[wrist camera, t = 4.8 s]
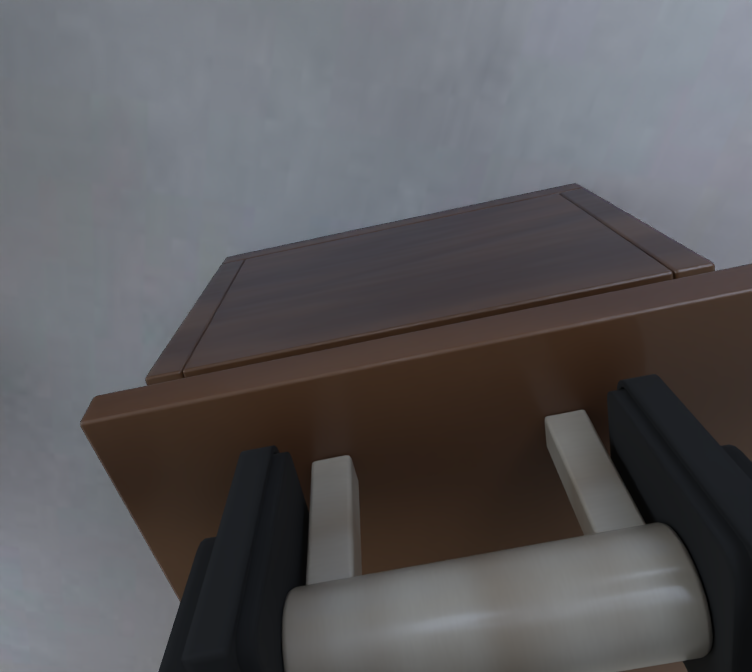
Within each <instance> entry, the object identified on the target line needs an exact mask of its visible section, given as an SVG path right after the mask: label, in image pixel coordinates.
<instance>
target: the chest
mask: <svg viewBox="0 0 752 672" xmlns="http://www.w3.org/2000/svg"><path fill="white" fill-rule="evenodd" d="M713 271H715V266H714V264H713V262H711V261H709V260H708V259H706V258H704V257H702V256H701V255H699V254H697V253H695V252H694V251H692V250H690V249H689V248H687V247H685V246H683V245H682V244H680V243H678V242H677V241H675V240H673V239H671V238H670V237H668V236H666V235H664V234H663V233H661V232H659V231H658V230H656V229H654V228H652V227H651V226H649V225H647V224H646V223H644V222H642V221H640V220H639V219H637V218H635V217H633V216H632V215H630V214H628V213H627V212H625V211H623V210H621V209H620V208H618V207H616V206H614V205H613V204H611V203H609V202H608V201H606V200H604V199H602V198H601V197H599V196H597V195H596V194H594V193H592V192H590V191H589V190H587V189H585V188H583V187H582V186H580V185H578V184H576V183H574V184H569V185H564V186H560V187H555V188H550V189H545V190H541V191H536V192H531V193H527V194H522V195H517V196H512V197H508V198H503V199H498V200H494V201H489V202H484V203H480V204H475V205H470V206H465V207H461V208H456V209H451V210H447V211H442V212H437V213H433V214H428V215H423V216H418V217H414V218H409V219H404V220H400V221H395V222H390V223H386V224H381V225H376V226H371V227H367V228H362V229H357V230H353V231H348V232H343V233H338V234H334V235H329V236H324V237H320V238H315V239H310V240H306V241H301V242H296V243H291V244H287V245H282V246H277V247H273V248H268V249H263V250H259V251H254V252H249V253H244V254H240V255H235V256H230V257H227V258H226V259H225V260H224V262H223V263H222V265H221V266H220V267H219V269H218V270H217V272H216V273H215V275H214V276H213V278H212V279H211V281H210V282H209V284H208V285H207V287H206V288H205V290H204V291H203V293H202V294H201V296H200V297H199V299H198V300H197V302H196V303H195V305H194V306H193V308H192V309H191V311H190V312H189V314H188V315H187V317H186V318H185V319H184V321H183V322H182V324H181V325H180V327H179V328H178V330H177V331H176V333H175V334H174V336H173V337H172V339H171V340H170V342H169V343H168V345H167V346H166V348H165V349H164V351H163V352H162V354H161V355H160V357H159V358H158V360H157V361H156V363H155V364H154V366H153V367H152V369H151V370H150V372H149V373H148V375H147V376H146V378H145V381H146V383H147V386H148V385H153V384H158V383H162V382H167V381H172V380H177V379H182V378H187V377H192V376H197V375H202V374H207V373H212V372H217V371H222V370H227V369H232V368H237V367H242V366H247V365H252V364H257V363H262V362H267V361H272V360H277V359H281V358H286V357H291V356H296V355H301V354H306V353H311V352H316V351H321V350H326V349H331V348H336V347H341V346H346V345H351V344H356V343H361V342H366V341H371V340H376V339H381V338H386V337H391V336H396V335H400V334H405V333H410V332H415V331H420V330H425V329H430V328H435V327H440V326H445V325H450V324H455V323H460V322H465V321H470V320H475V319H480V318H485V317H490V316H495V315H500V314H505V313H510V312H515V311H520V310H524V309H529V308H534V307H539V306H544V305H549V304H554V303H559V302H564V301H569V300H574V299H579V298H584V297H589V296H594V295H599V294H604V293H609V292H614V291H619V290H624V289H629V288H634V287H639V286H643V285H648V284H653V283H658V282H663V281H668V280H673V279H678V278H683V277H688V276H693V275H698V274H703V273H708V272H713Z"/></svg>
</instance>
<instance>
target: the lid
mask: <svg viewBox="0 0 752 672" xmlns="http://www.w3.org/2000/svg"><path fill="white" fill-rule="evenodd" d="M651 374H656V375H658V376H659V377H660V378H661V379H662V380H663V381H664V383H665V384H666V385H667V386H668V387H669V388H670V389H671V390H672V392H673V393H674V394H675V395H676V396H677V397H678V398H679V399H680V401H681V402H682V403H683V404H684V405H685V406H686V407H687V408H688V410H689V411H690V412H691V413H692V414H693V415H694V416H695V417H696V419H697V420H698V421H699V422H700V423H701V424H702V425H703V427H704V428H705V429H706V430H707V431H708V432H709V433H710V434H711V436H712V437H713V438H714V439H715V440H716V441H717V442H718V443H719V445H720V446H723V445H728V444H730V445H733V446H736V447H737V448H738V449H739V450H741V451H742V452H743V453H744V454H745V455H746V456H747V457H748V458H749V460H750V461H751V462H752V264H748V265H743V266H738V267H733V268H728V269H723V270H718V271H713V272H708V273H703V274H698V275H693V276H688V277H683V278H678V279H673V280H668V281H663V282H658V283H653V284H648V285H643V286H639V287H634V288H629V289H624V290H619V291H614V292H609V293H604V294H599V295H594V296H589V297H584V298H579V299H574V300H569V301H564V302H559V303H554V304H549V305H544V306H539V307H534V308H529V309H524V310H520V311H515V312H510V313H505V314H500V315H495V316H490V317H485V318H480V319H475V320H470V321H465V322H460V323H455V324H450V325H445V326H440V327H435V328H430V329H425V330H420V331H415V332H410V333H405V334H400V335H396V336H391V337H386V338H381V339H376V340H371V341H366V342H361V343H356V344H351V345H346V346H341V347H336V348H331V349H326V350H321V351H316V352H311V353H306V354H301V355H296V356H291V357H286V358H281V359H277V360H272V361H267V362H262V363H257V364H252V365H247V366H242V367H237V368H232V369H227V370H222V371H217V372H212V373H207V374H202V375H197V376H192V377H187V378H182V379H177V380H172V381H167V382H162V383H158V384H153V385H148V386H143V387H138V388H133V389H128V390H123V391H118V392H113V393H108V394H103V395H98V396H96V397H94V398H93V399H92V401H91V403H90V405H89V407H88V409H87V410H86V412H85V414H84V416H83V418H82V420H81V421H80V426H81V428H82V430H83V432H84V433H85V435H86V437H87V439H88V440H89V442H90V444H91V446H92V447H93V449H94V451H95V453H96V455H97V456H98V458H99V460H100V462H101V463H102V465H103V467H104V469H105V470H106V472H107V474H108V476H109V477H110V479H111V481H112V483H113V484H114V486H115V488H116V490H117V492H118V493H119V495H120V497H121V499H122V500H123V502H124V504H125V506H126V507H127V509H128V511H129V513H130V514H131V516H132V518H133V520H134V521H135V523H136V525H137V527H138V529H139V530H140V532H141V534H142V536H143V537H144V539H145V541H146V543H147V544H148V546H149V548H150V550H151V551H152V553H153V555H154V557H155V558H156V560H157V562H158V564H159V566H160V567H161V569H162V571H163V573H164V574H165V576H166V578H167V580H168V581H169V583H170V585H171V587H172V588H173V590H174V592H175V594H176V595H177V597H178V599H179V601H180V602H181V599H182V596H183V593H184V590H185V586H186V583H187V580H188V577H189V574H190V571H191V567H192V564H193V561H194V558H195V555H196V552H197V549H198V547H199V545H200V542H201V541H203V540H204V539H205V538H211V537H216V536H217V532H218V529H219V525H220V522H221V518H222V515H223V511H224V508H225V504H226V501H227V497H228V494H229V490H230V487H231V483H232V480H233V476H234V473H235V469H236V466H237V462H238V459H239V456H240V453H241V452H242V451H246V450H251V449H257V448H262V447H267V446H273V445H275V446H276V447H277V449H278V450H279V453H282V452H289V453H290V455H291V457H292V460H293V463H294V466H295V469H296V472H297V476H298V479H299V482H300V485H301V488H302V492H303V495H304V498H305V501H306V504H307V507H308V511H309V528H308V548H307V567H306V585H304V586H299V587H295V588H293V589H292V590H290V591H289V592H288V594H287V596H286V599H285V603H284V609H283V615H282V633H281V636H282V657H283V666H284V672H688V671H687V669H686V667H685V665H684V663H683V661H686V660H692V659H698V658H702V657H704V656H706V655H707V654H708V653H709V652H710V650H711V648H712V640H713V635H712V623H711V616H710V610H709V606H708V602H707V598H706V594H705V591H704V588H703V585H702V582H701V579H700V577H699V574H698V571H697V569H696V567H695V564H694V562H693V560H692V558H691V556H690V554H689V552H688V550H687V549H686V547H685V545H684V544H683V542H682V541H681V539H680V538H679V536H678V535H677V533H676V532H675V531H674V530H673V529H672V528H671V527H670V526H668V525H667V524H664V523H659V522H656V523H650V524H646V523H645V521H644V519H643V517H642V515H641V514H640V512H639V510H638V508H637V506H636V504H635V502H634V501H633V499H632V497H631V495H630V493H629V491H628V489H627V488H626V486H625V484H624V482H623V480H622V478H621V476H620V474H619V473H618V471H617V469H616V467H615V465H614V463H613V461H612V460H611V455H610V439H609V423H608V407H607V394H608V392H609V391H614V390H617V385H618V382H619V381H620V380H624V379H629V378H635V377H640V376H646V375H651Z"/></svg>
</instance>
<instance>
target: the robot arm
mask: <svg viewBox="0 0 752 672" xmlns="http://www.w3.org/2000/svg"><path fill="white" fill-rule="evenodd" d="M607 407H608V423H609V439H610V455H611V460H612V461H613V463H614V465H615V467H616V469H617V471H618V473H619V474H620V476H621V478H622V480H623V482H624V484H625V486H626V488H627V489H628V491H629V493H630V495H631V497H632V499H633V501H634V502H635V504H636V506H637V508H638V510H639V512H640V514H641V515H642V517H643V519H644V521H645V523H646V524H650V523H656V522H659V523H664V524H667V525H668V526H670V527H671V528H672V529H673V530H674V531H675V532H676V533H677V535H678V536H679V538H680V539H681V541H682V542H683V544H684V545H685V547H686V549H687V550H688V552H689V554H690V556H691V558H692V560H693V562H694V564H695V567H696V569H697V571H698V574H699V577H700V579H701V582H702V585H703V588H704V591H705V594H706V598H707V602H708V606H709V610H710V616H711V623H712V635H713V640H712V648H711V650H710V652H709V653H708V654H707V655H706V656H704V657H702V658H698V659H692V660H686V661H683V663H684V665H685V667H686V669H687V671H688V672H752V462H751V461H750V460H749V458H748V457H747V456H746V455H745V454H744V453H743V452H742V451H741V450H739V449H738V448H737V447H736V446H733V445H730V444H728V445H723V446H720V445H719V443H718V442H717V441H716V440H715V439H714V438H713V437H712V436H711V434H710V433H709V432H708V431H707V430H706V429H705V428H704V427H703V425H702V424H701V423H700V422H699V421H698V420H697V419H696V417H695V416H694V415H693V414H692V413H691V412H690V411H689V410H688V408H687V407H686V406H685V405H684V404H683V403H682V402H681V401H680V399H679V398H678V397H677V396H676V395H675V394H674V393H673V392H672V390H671V389H670V388H669V387H668V386H667V385H666V384H665V383H664V381H663V380H662V379H661V378H660V377H659V376H658V375H656V374H651V375H646V376H640V377H635V378H629V379H624V380H620V381H619V382H618V385H617V390H614V391H609V392H608V394H607ZM308 528H309V511H308V507H307V504H306V501H305V498H304V495H303V492H302V488H301V485H300V482H299V479H298V476H297V472H296V469H295V466H294V463H293V460H292V457H291V455H290V453H289V452H282V453H279V450H278V449H277V447H276V446H275V445H273V446H267V447H262V448H257V449H251V450H246V451H242V452H241V453H240V456H239V459H238V462H237V466H236V469H235V473H234V476H233V480H232V483H231V487H230V490H229V494H228V497H227V501H226V504H225V508H224V511H223V515H222V518H221V522H220V525H219V529H218V532H217V536H216V537H211V538H205V539H204V540H203V541H201V542H200V545H199V547H198V549H197V552H196V555H195V558H194V561H193V564H192V567H191V571H190V574H189V577H188V580H187V583H186V586H185V590H184V593H183V596H182V599H181V602H180V605H179V609H178V612H177V615H176V618H175V621H174V624H173V627H172V631H171V634H170V637H169V640H168V643H167V646H166V650H165V653H164V656H163V659H162V662H161V665H160V669H159V672H284V666H283V657H282V636H281V633H282V615H283V609H284V603H285V599H286V596H287V594H288V592H289V591H290V590H292V589H293V588H295V587H299V586H304V585H306V567H307V548H308Z"/></svg>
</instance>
